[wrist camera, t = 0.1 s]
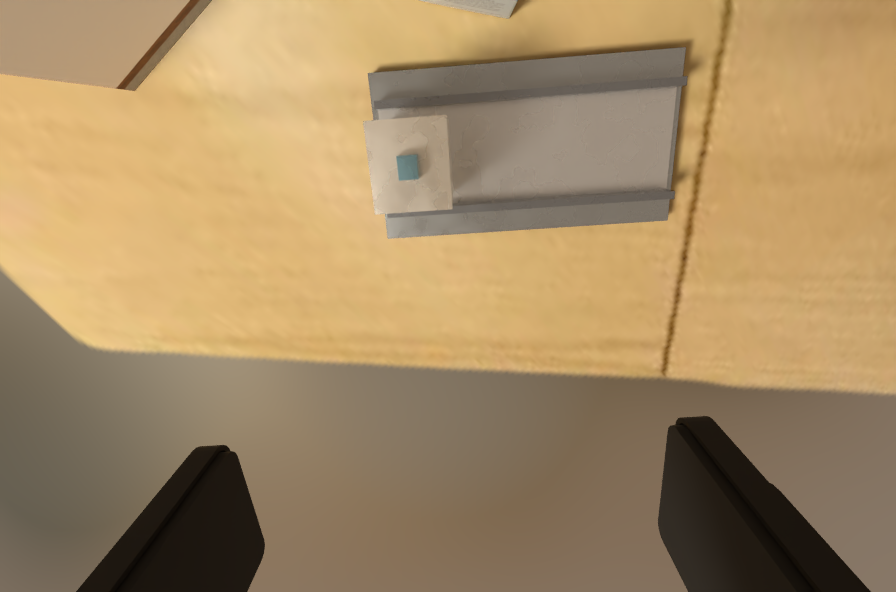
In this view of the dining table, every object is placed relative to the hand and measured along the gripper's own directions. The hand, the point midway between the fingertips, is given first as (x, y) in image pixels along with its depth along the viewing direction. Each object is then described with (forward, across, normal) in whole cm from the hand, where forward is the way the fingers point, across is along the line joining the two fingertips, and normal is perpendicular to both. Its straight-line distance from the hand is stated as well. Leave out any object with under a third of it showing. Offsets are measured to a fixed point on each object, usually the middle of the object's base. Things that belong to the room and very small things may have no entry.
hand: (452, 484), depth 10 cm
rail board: (+31, -6, -5) cm, 32 cm away
